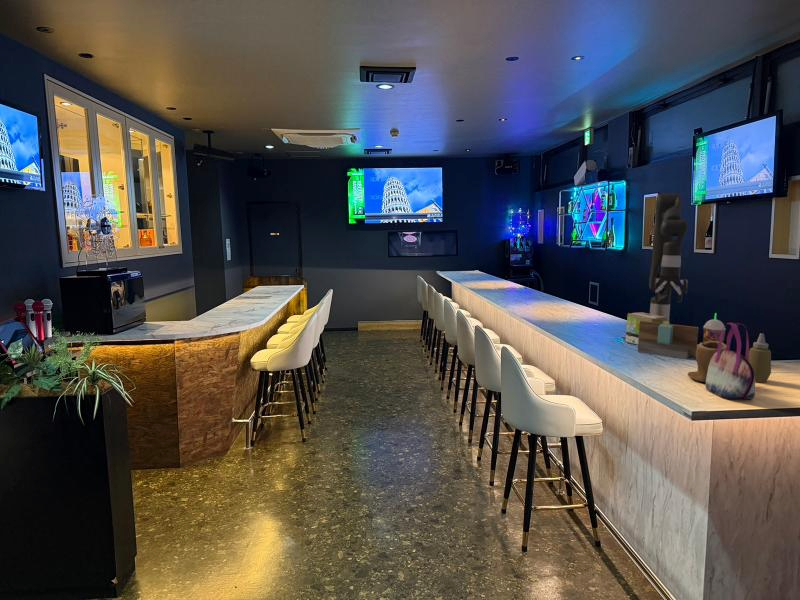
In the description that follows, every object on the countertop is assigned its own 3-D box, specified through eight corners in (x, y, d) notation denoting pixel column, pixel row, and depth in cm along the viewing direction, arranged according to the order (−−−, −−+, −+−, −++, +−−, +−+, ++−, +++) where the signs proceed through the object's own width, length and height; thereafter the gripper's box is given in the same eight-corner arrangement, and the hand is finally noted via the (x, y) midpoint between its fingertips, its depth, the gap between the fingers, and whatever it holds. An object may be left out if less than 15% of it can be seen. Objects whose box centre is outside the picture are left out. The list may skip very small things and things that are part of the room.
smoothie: (702, 359, 228) (706, 314, 225) (699, 355, 235) (703, 311, 233) (724, 361, 225) (728, 315, 222) (720, 356, 232) (725, 312, 229)
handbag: (695, 385, 191) (701, 317, 187) (722, 384, 191) (728, 317, 188) (734, 405, 170) (742, 329, 166) (764, 404, 170) (773, 329, 166)
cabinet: (659, 345, 240) (661, 320, 239) (671, 347, 237) (673, 321, 235) (656, 347, 236) (658, 321, 234) (668, 349, 233) (671, 323, 231)
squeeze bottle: (770, 385, 191) (776, 336, 189) (744, 381, 195) (749, 334, 193) (769, 379, 198) (774, 333, 195) (743, 376, 202) (748, 330, 200)
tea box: (624, 342, 261) (626, 312, 259) (639, 340, 265) (641, 311, 263) (650, 348, 248) (652, 317, 245) (665, 346, 252) (667, 316, 250)
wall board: (638, 347, 249) (640, 320, 247) (696, 355, 234) (698, 327, 232) (633, 351, 241) (635, 323, 240) (691, 360, 226) (694, 330, 225)
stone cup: (700, 386, 190) (704, 345, 187) (682, 376, 201) (686, 338, 199) (742, 386, 190) (746, 345, 188) (722, 376, 201) (725, 338, 199)
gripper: (690, 265, 230) (687, 302, 232) (655, 264, 239) (652, 299, 241) (687, 267, 224) (684, 304, 226) (651, 265, 233) (648, 301, 235)
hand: (667, 301), depth 234 cm, fingers open, 8 cm apart
